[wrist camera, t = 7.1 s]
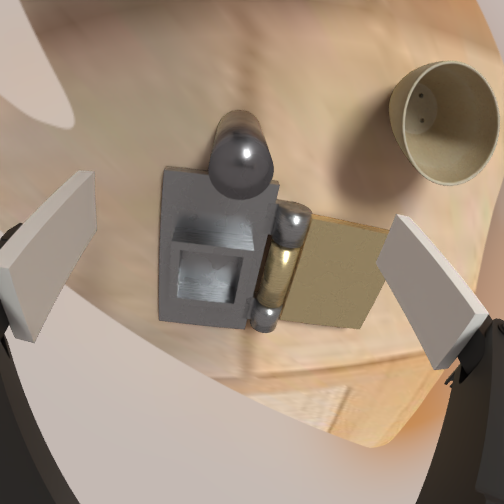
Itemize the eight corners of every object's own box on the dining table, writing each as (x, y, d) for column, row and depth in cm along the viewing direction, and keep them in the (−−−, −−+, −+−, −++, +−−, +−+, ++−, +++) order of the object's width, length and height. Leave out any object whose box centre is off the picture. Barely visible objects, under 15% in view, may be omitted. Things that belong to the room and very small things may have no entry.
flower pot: (462, 77, 23) (511, 90, 17) (437, 166, 28) (478, 196, 22) (377, 40, 22) (420, 40, 16) (353, 143, 27) (387, 171, 21)
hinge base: (166, 166, 27) (158, 180, 24) (312, 186, 29) (322, 203, 26) (160, 314, 37) (156, 336, 34) (271, 325, 39) (274, 347, 36)
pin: (220, 107, 25) (212, 135, 16) (264, 113, 25) (279, 144, 17) (214, 147, 27) (205, 195, 18) (256, 153, 27) (267, 203, 19)
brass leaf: (277, 206, 30) (279, 220, 28) (401, 232, 31) (410, 246, 29) (252, 308, 37) (251, 325, 35) (357, 322, 38) (362, 338, 36)
